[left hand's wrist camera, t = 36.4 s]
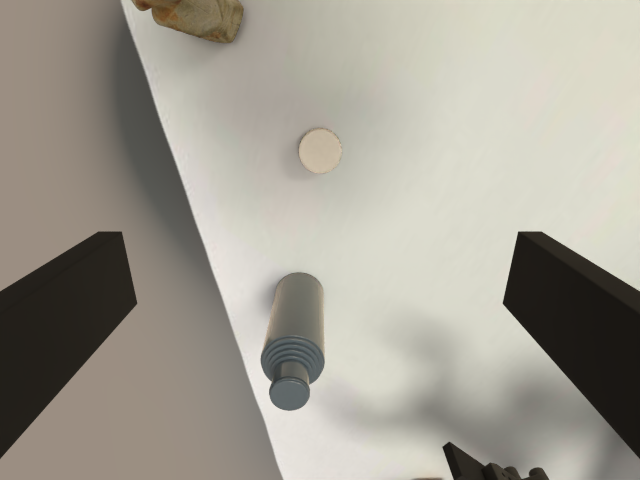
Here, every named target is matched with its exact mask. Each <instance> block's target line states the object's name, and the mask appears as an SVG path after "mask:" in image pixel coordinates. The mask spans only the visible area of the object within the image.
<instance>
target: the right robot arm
mask: <svg viewBox="0 0 640 480" xmlns="http://www.w3.org/2000/svg"><path fill="white" fill-rule="evenodd" d="M443 450H444V453H445V456H446V459H447V462H448V464H449V467H450V470H451V473H452V476H453V479H454V480H549V478H548V477H547V475H546V474H545V472H544V470H543V469H542V468H533V469H532V470H530V472H529V476H530V477H528V478H524V479H521V477H520V476H519V474H518V472H517V470H516V468H514V467H506V468H505V469H503V468H501V467H500V466H498V465H497V464H494V463H489V464H488V465H486V466H484V465H482V464H481V463H479V462H478V461H477V460H475V459H474V458H472V457H471V456H469V455H468V454H466V453H465V452H464V451H462V450H461V449H459V448H458V447H456V446H455V445H453V444H452V443H451V442H448V443H447V444H446V445H444V446H443Z"/></svg>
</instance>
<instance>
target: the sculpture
mask: <svg viewBox="0 0 640 480" xmlns="http://www.w3.org/2000/svg"><path fill="white" fill-rule="evenodd" d="M132 2H133V3H134V5H135V6H136V7H137V9H139V10H140V11H145V10H148V9H150V8H152V15H153V19H154V20H155V22H156V23H157V24H159V25H161V26H165V27H168V28H172V29H174V30H177V31H181V32H184V33H187V34H190V35H194V36H197V37H199V38H203V39H206V40H210V41H214V42H220V43H231V42H232V41H233V40H234V38H235V36H236V33H237V31H238V28H239V25H240V23H241V19H242V16H243V6H242V5H241V3H240V2H239V1H238V0H132Z"/></svg>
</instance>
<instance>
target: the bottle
mask: <svg viewBox="0 0 640 480" xmlns="http://www.w3.org/2000/svg"><path fill="white" fill-rule="evenodd" d="M324 364H325V354H324V297H323V288H322V286H321V284H320V282H319V281H318V280H317V279H316V278H314V277H313V276H311V275H309V274H305V273H293V274H290V275H288V276H286V277H284V278H283V279H282V280H281V281H280V282H279V284H278V286H277V288H276V293H275V297H274V301H273V306H272V310H271V315H270V319H269V323H268V328H267V332H266V337H265V341H264V345H263V350H262V354H261V365H262V368H263V371H264V373H265V375H266V376H267V378H268V379H269V380H270V381H272V384H271V386H270V389H269V395H270V399H271V401H272V403H273V404H274V405H275V406H276V407H278V408H280V409H283V410H288V411H291V410H297V409H299V408H301V407H303V406H304V405H305V404H306V402H307V401H308V399H309V396H310V388H309V385H310V384H311V383H313V382H314V381H315V380H316V379H317V378H318V377H319V376H320V374H321V372H322V371H323V368H324Z"/></svg>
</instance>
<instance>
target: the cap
mask: <svg viewBox="0 0 640 480" xmlns="http://www.w3.org/2000/svg"><path fill="white" fill-rule="evenodd" d="M340 144H341V143H340V141H339V139H338V137H336V135H335V134H334V133H333V132H332V131H330V130H328V129H323V128H317V129H313V130H311V131H309V132H308V133H307V134H305V136H304V137H303V138H302V141H301V142H300V146H299V152H298V153H299V158H300V160H301V162H302V164H303V165H304V166H305V167H306V168H307V169H308V170H309V171H311V172H314V173H327V172H329V171H331V170H332V169H334V168H335V167H336V166H337V165H338V163H339V161H340V159H341V154H342V150H341V149H342V147H341V145H340Z"/></svg>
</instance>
